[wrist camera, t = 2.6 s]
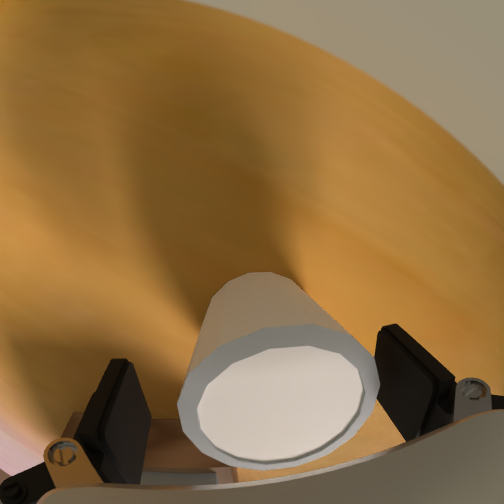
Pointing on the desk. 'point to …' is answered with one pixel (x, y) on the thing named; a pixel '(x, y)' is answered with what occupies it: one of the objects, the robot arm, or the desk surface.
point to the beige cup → (274, 377)
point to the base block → (171, 451)
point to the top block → (178, 479)
